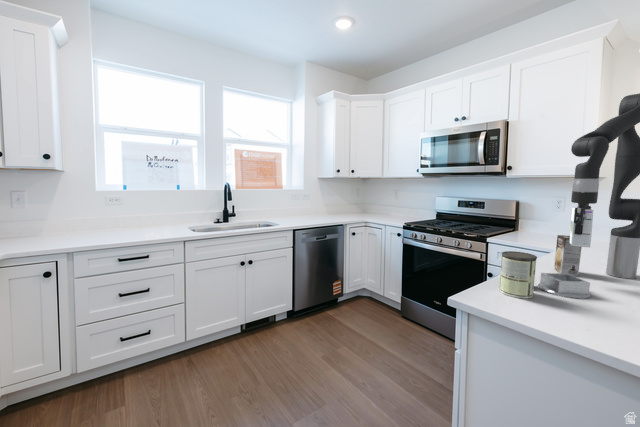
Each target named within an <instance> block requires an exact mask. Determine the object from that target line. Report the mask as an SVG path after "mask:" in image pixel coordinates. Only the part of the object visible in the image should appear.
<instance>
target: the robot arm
mask: <svg viewBox="0 0 640 427" xmlns="http://www.w3.org/2000/svg"><path fill="white" fill-rule="evenodd" d="M639 123H640V92H639V93H635V94H634V93H633V94H628V95H626V96H624V97H623V98H622V99H621V100H620V102H619V105H618V115H617V116H615V117H612V118H610V119H608V120H606V121H605V122H603V123H602V124H601V125H599V127H597V128H596V129H594V130H593V131H590V132H588V133H585V134H584V135H582V136H581V137H578V138H577V139H575V141H574V142H573V143H572V144H571V148H570V149H571V153H572V154H573V155H574V156H575V157H579V158H586V157H589V158H588V160H586V161H584V162H581V163H578V164H576V166H575V168H574V177H573V178H574V179H573V183H572V191H571V197H570V198H571V200H570V201H571V203H572V204H577V207H574V208H575V214H574V223H575V224H576V225H575V234H577V235H582V232H583V224H584V220H586V219H587V212H586V213H585V209H592V206H591V205H590V204H594V205H595V204H597V203H598V198H599V197H598V196H599V187H600V182H599V181H600V171H601V166H602V164H603V162H604V161H605V157H606V155H607V154H608V151H609V148H610V144H611V143H613V141H615V140H616V139H617V147H616V154H615V159H614V169H613V170H614V172H613V183H612V184H613V185H612V190H611V196H610V200H609V206H608V217H609V219H611V220H616V221H617V220H618V221H619V220H620V221H629V222H630V221H631V223H630V224H627V225H625V226H624V225H623V226H619V227H612V228H611V230H610V235H609V247H608V254H607V261H606V262H607V263H606V269H605V270H606V271H605V274H606V275H609V276H613V277H616V278H617V277H618V278H623V279H632V280H633V279H634V280H635V279H636V278H637V274H638V267H639V265H638V264H639V257H640V198H625V197H624V198H621V197H622V195H623V193H624V192H625V190H626V189H627V187H628V186H629V185H630V184H631V183H632V182H633V181H635V179H636V178H637V177H639V176H640V135H639V134H638V132H637V130H636V125H638V124H639ZM584 214H585V216H584V217H583V215H584ZM578 219H581V221H580V220H578Z"/></svg>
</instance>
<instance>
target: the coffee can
mask: <svg viewBox="0 0 640 427" xmlns="http://www.w3.org/2000/svg"><path fill="white" fill-rule="evenodd" d="M537 259H538V256H537V255H536V254H533V253H532V254H531V253H529V252H522V251H516V250H515V251H514V250H512V251H511V250H510V251H509V250H508V251H502V252H501V263H500V264H501V265H500V266H501V268H500V279H499V292H500V293H501V294H503V295H505V296H508V297H512V298H517V299H532V298H534V288H535V276H536V269H537V268H536V266H537Z"/></svg>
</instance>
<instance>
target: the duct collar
mask: <svg viewBox="0 0 640 427" xmlns="http://www.w3.org/2000/svg"><path fill="white" fill-rule="evenodd" d="M539 279H540V280H539V283H538V284H537V287H538V289H540V290H541V291H543V292H544V293H545V292H546V293H548V294H551V295H554V294H555V296H558V295H559V297H563V296H564V297H563V298H568V297H571V299H578V298H585V299H589V298H590V297H591V293H590V287H591V282H590V281H588V280H585V279H582V278H580V277H579V276H573V275H571V274H560V273H559V272H558V273H555V272H554V273H553V272H541V273H540V278H539ZM588 297H589V298H588Z"/></svg>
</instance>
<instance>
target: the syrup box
mask: <svg viewBox="0 0 640 427" xmlns="http://www.w3.org/2000/svg"><path fill="white" fill-rule="evenodd" d="M575 208H576V207H572V208H571V217H570V218H571V219H570V220H571V221H570V232H569V233H570V234H569V236H570V242H569V243H570V244H571V245H572V246H578V247H582V248H591V242H592V233H593V221H594V209H592V208H591V209H585V213H586V212H587V219H586V220H584V224H583V232H582V235H577V234H575V225H576V224H575V223H574V214H575ZM584 216H585V214H584V215H583V217H584ZM578 220H580V221H581V219H578Z"/></svg>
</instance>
